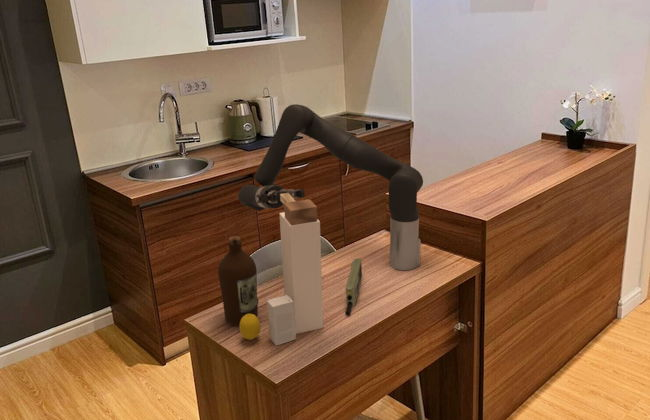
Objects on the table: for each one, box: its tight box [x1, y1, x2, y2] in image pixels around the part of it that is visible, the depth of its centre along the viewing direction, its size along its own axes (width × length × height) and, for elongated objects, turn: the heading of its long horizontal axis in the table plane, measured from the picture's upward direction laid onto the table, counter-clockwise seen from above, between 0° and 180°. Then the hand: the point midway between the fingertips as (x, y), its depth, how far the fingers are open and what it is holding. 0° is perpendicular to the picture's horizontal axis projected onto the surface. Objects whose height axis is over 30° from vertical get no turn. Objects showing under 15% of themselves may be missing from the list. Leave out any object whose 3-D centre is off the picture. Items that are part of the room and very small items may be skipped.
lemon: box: [239, 314, 261, 341], centre depth 155 cm, size 6×6×8 cm
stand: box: [279, 211, 324, 335], centre depth 158 cm, size 8×10×32 cm
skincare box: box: [266, 295, 297, 346], centre depth 154 cm, size 6×4×12 cm
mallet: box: [280, 193, 318, 225], centre depth 155 cm, size 7×18×4 cm, turn 20°
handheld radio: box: [345, 257, 363, 316], centre depth 176 cm, size 7×3×25 cm
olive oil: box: [217, 235, 259, 327], centre depth 162 cm, size 11×11×25 cm
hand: (289, 195), depth 171 cm, fingers open, 8 cm apart
